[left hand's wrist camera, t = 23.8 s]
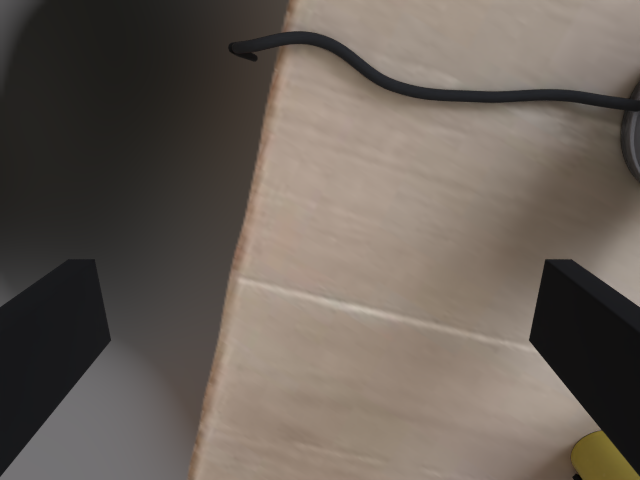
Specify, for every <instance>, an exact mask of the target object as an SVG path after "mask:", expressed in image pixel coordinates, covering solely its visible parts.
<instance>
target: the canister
mask: <svg viewBox="0 0 640 480" xmlns="http://www.w3.org/2000/svg"><path fill="white" fill-rule="evenodd" d="M571 462H572V464H573V466H574V468H575V469H576V471H577V472H578V474H579V475H580V477H581V478H582V480H640V476H639V475H638V474H637V473H636V472H635V470H634V469H633V468H632V467H631V465H630V464H629V463H628V462H627V460H626V459H625V458H624V457H623V456H622V454H621V453H620V452H619V451H618V449H617V448H616V447H615V446H614V444H613V443H612V442H611V441H610V440H609V438H608V437H607V436H606V435H605V433H604V432H603V431H597V432H594V433H591V434H589V435H587V436H585V437H584V438H582V439H581V440H580V441H579V442H578V443H577V444H576V445H575V446H574V448H573V450H572V453H571Z"/></svg>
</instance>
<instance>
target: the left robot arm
mask: <svg viewBox="0 0 640 480" xmlns="http://www.w3.org/2000/svg"><path fill="white" fill-rule="evenodd" d="M289 44H308V45H314V46H318V47H321V48H324V49H326V50H329V51H331V52H332V53H334V54H336V55H338V56H339V57H341V58H342V59H343V60H345V61H346V62H347V63H349V64H350V65H351V66H352V67H354V68H355V69H356V70H357V71H359V72H360V73H361V74H362V75H364V76H365V77H366V78H368V79H369V80H371V81H372V82H374V83H375V84H377V85H379V86H381V87H383V88H385V89H387V90H390V91H392V92H396V93H399V94H402V95H406V96H410V97H415V98H420V99H427V100H437V101H458V102H482V103H501V102H520V101H542V100H549V101H568V102H576V103H582V104H588V105H593V106H600V107H606V108H613V109H620V110H625V113H624V117H623V122H622V128H621V146H622V152H623V156H624V159H625V162H626V164H627V166H628V168H629V170H630V171H631V173H632V174H633V176H634V177H635V178H636V179H637V180H638V181H639V182H640V81H639V83H638V84H637V86H636V88H635V90H634V91H633V93H632V95H631V97H630V99H626V98H619V97H612V96H605V95H599V94H593V93H587V92H581V91H573V90H558V89H540V90H520V91H500V92H487V91H463V90H442V89H431V88H424V87H418V86H414V85H409V84H406V83H402V82H399V81H396V80H394V79H391V78H389V77H387V76H385V75H383V74H381V73H380V72H378V71H377V70H375V69H374V68H373V67H371V66H370V65H369V64H367V63H366V62H365V61H364V60H363V59H361V58H360V57H359V56H358V55H356V54H355V53H354V52H353V51H351V50H350V49H349V48H347V47H346V46H344V45H343V44H341V43H339V42H337V41H336V40H334V39H332V38H329V37H327V36H324V35H320V34H317V33H312V32H303V31H294V32H285V33H279V34H274V35H269V36H266V37H261V38H257V39H253V40H248V41H241V42H232V43H230V44H229V46H228V49H229V52H231V53H232V54H234V55H236V56H238V57H241V58H244V59H247V60H250V61H253V62H256V61H257V60H258V57H257V55H255V54H253V53H251V52H256V51H261V50H265V49H269V48H273V47H278V46H283V45H289ZM110 341H111V338H110V333H109V328H108V323H107V318H106V313H105V308H104V303H103V298H102V293H101V288H100V283H99V279H98V274H97V269H96V264H95V260H94V259H68V260H67V261H66V262H64V263H63V264H61V265H60V266H58V267H57V268H55V269H54V270H53V271H51V272H50V273H48V274H47V275H45V276H44V277H43V278H41V279H40V280H38V281H37V282H36V283H34V284H33V285H31V286H30V287H28V288H27V289H26V290H24V291H23V292H21V293H20V294H18V295H17V296H16V297H14V298H13V299H11V300H10V301H8V302H7V303H6V304H4V305H3V306H1V307H0V476H1V475H2V474H3V473H4V471H5V470H6V469H7V468H8V467H9V465H10V464H11V463H12V462H13V460H14V459H15V458H16V457H17V456H18V454H19V453H20V452H21V451H22V449H23V448H24V447H25V446H26V444H27V443H28V442H29V441H30V440H31V438H32V437H33V436H34V435H35V433H36V432H37V431H38V430H39V428H40V427H41V426H42V425H43V423H44V422H45V421H46V420H47V418H48V417H49V416H50V415H51V414H52V412H53V411H54V410H55V409H56V407H57V406H58V405H59V404H60V403H61V401H62V400H63V399H64V398H65V396H66V395H67V394H68V393H69V391H70V390H71V389H72V388H73V387H74V385H75V384H76V383H77V382H78V380H79V379H80V378H81V377H82V375H83V374H84V373H85V372H86V370H87V369H88V368H89V367H90V366H91V364H92V363H93V362H94V361H95V359H96V358H97V357H98V356H99V354H100V353H101V352H102V351H103V350H104V348H105V347H106V346H107V345H108V343H109V342H110ZM529 341H530V342H531V343H532V345H533V346H534V347H535V348H536V350H537V351H538V352H539V353H540V354H541V356H542V357H543V358H544V359H545V361H546V362H547V363H548V364H549V366H550V367H551V368H552V369H553V371H554V372H555V373H556V374H557V375H558V377H559V378H560V379H561V380H562V382H563V383H564V384H565V385H566V387H567V388H568V389H569V390H570V391H571V393H572V394H573V395H574V396H575V398H576V399H577V400H578V401H579V403H580V404H581V405H582V406H583V407H584V409H585V410H586V411H587V412H588V414H589V415H590V416H591V417H592V419H593V420H594V421H595V422H596V423H597V425H598V426H599V427H600V428H601V430H602V431H603V432H604V433H605V435H606V436H607V437H608V438H609V440H610V441H611V442H612V443H613V444H614V446H615V447H616V448H617V449H618V451H619V452H620V453H621V454H622V456H623V457H624V458H625V459H626V460H627V462H628V463H629V464H630V465H631V467H632V468H633V469H634V470H635V472H636V473H637V474H638V475H639V476H640V307H639V306H637V305H636V304H634V303H633V302H632V301H630V300H629V299H627V298H626V297H624V296H623V295H622V294H620V293H619V292H617V291H616V290H614V289H613V288H612V287H610V286H609V285H607V284H606V283H605V282H603V281H602V280H600V279H599V278H597V277H596V276H595V275H593V274H592V273H590V272H589V271H587V270H586V269H585V268H583V267H582V266H580V265H579V264H577V263H576V262H575V261H573V260H572V259H545V264H544V269H543V273H542V278H541V283H540V288H539V293H538V298H537V303H536V308H535V313H534V318H533V323H532V328H531V333H530V338H529Z"/></svg>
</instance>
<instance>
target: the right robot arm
mask: <svg viewBox="0 0 640 480" xmlns="http://www.w3.org/2000/svg"><path fill="white" fill-rule="evenodd" d="M572 478H573V479H574V480H582V478H581V477H580V475H578V474H575V475H574V476H573V477H572Z"/></svg>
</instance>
